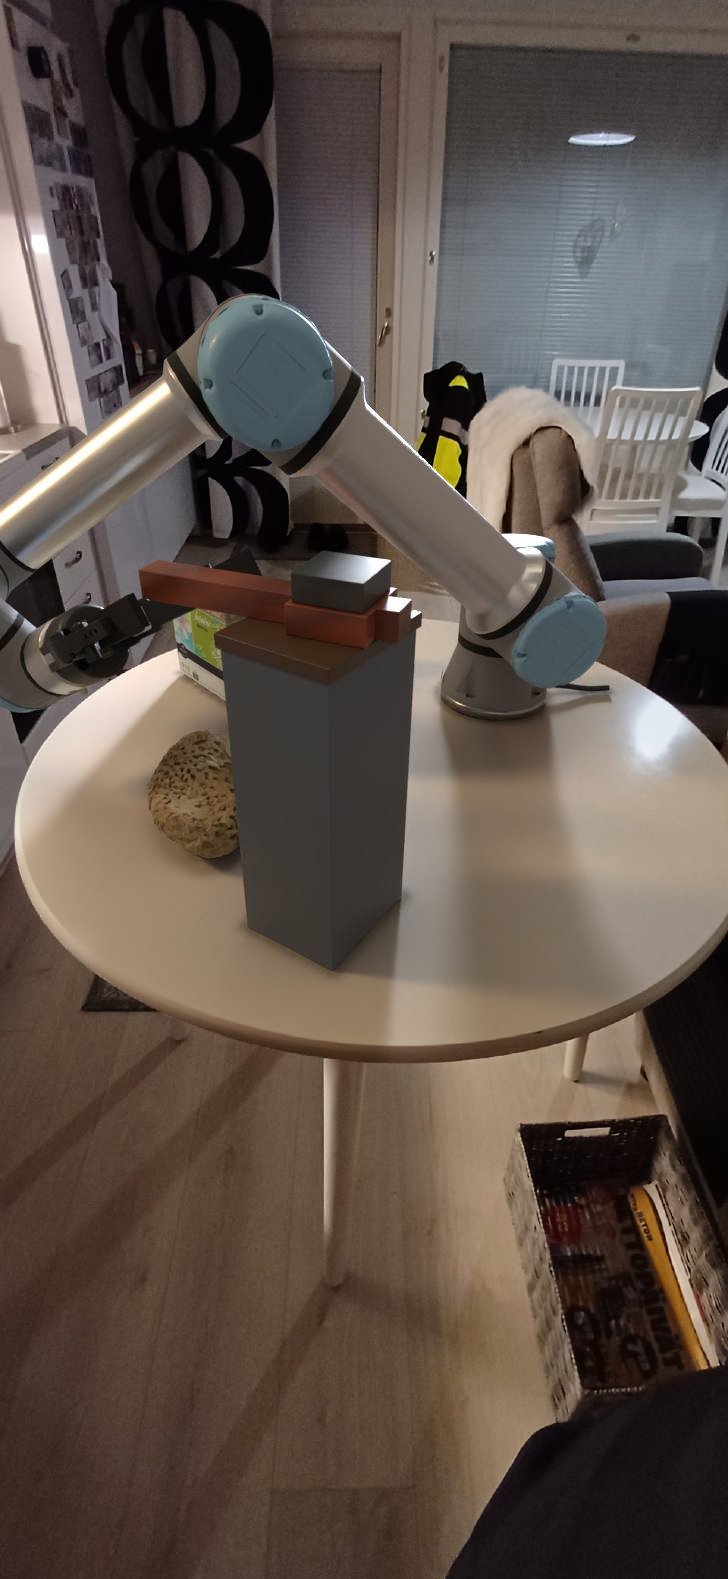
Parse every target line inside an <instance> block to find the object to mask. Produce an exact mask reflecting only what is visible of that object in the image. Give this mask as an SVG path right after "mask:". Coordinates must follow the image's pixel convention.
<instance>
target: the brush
mask: <svg viewBox="0 0 728 1579" xmlns="http://www.w3.org/2000/svg"><path fill="white" fill-rule="evenodd" d="M137 571H138V578H139V585H140V591H141V598H143V599H147V600H153V601H159V602H164V603H170V604H176V605H181V606H187V607H193V608H198V609H204V610H210V611H215V612H221V613H227V614H232V615H238V616H244V617H249V618H255V619H261V620H266V621H272V622H278V623H283V624H285V630H286V635H291V636H297V637H302V638H308V639H313V640H319V641H324V642H330V643H336V644H341V645H347V646H352V647H358V648H363V649H366V648H367V647H368V646H369V645H370V644H371V643H372V642H373V641H374V640H380V641H386V642H391V643H397V644H398V643H399V642H400V641H401V640H402V639H403V638H404V636H405V635H406V634H407V633H408V632H409V631H410V629H411V610H413V608H412V607H413V600H412V599H411V598H404V597H398V588H397V587H392V580H391V579H392V559H387V558H386V559H384V558H379V557H378V558H377V557H371V556H365V555H358V554H357V555H356V554H349V553H343V552H335V551H329V550H322V551H320V552H319V553H317V554H316V555H315V556H313V557H312V558H309V559H308V560H307V561H306V562H304V563H303V564H301V565H299V567H297V568H295V569H294V570H293V571H291V572H290V579H284V578H283V579H282V578H276V577H270V576H264V575H262V576H258V575H252V574H245V573H239V572H233V571H226V570H220V569H213V567H211V568H207V567H203V566H201V565H193V564H189V563H188V564H187V563H180V562H176V561H175V562H174V561H168V560H164V559H163V560H162V559H157V560H155V561H154V562H151V563H149V564H147V565H145V566H143V567H141V568H139V569H138V570H137Z"/></svg>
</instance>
